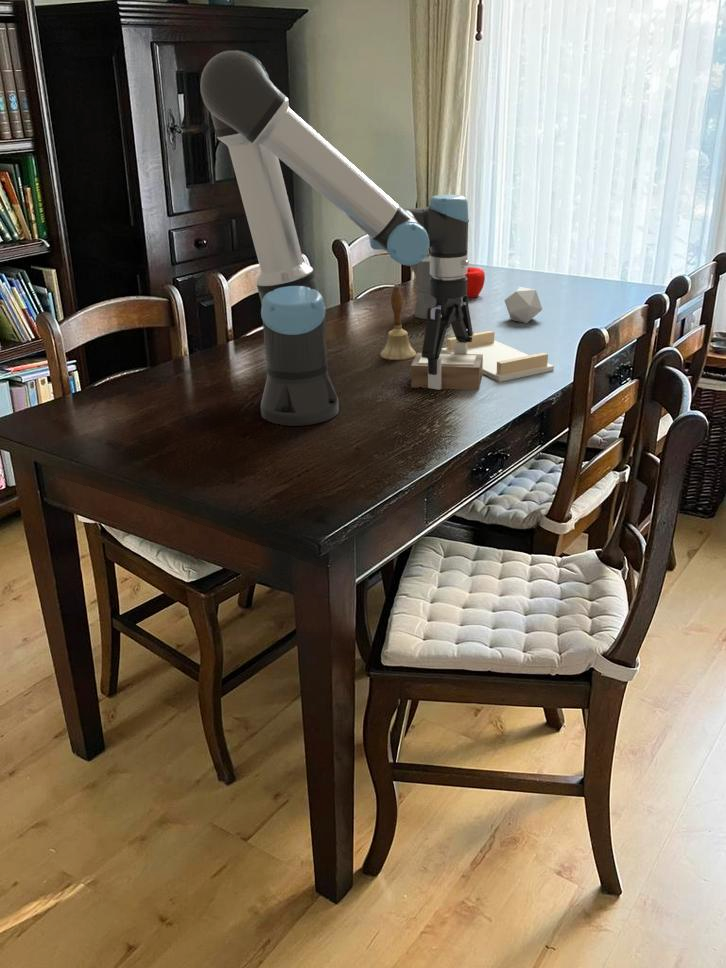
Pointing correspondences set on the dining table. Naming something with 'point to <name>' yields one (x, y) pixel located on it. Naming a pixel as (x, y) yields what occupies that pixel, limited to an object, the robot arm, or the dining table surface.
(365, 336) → the dining table surface
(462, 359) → the frame
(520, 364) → the wall panel
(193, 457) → the dining table surface
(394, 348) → the hand bell
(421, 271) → the coffeepot
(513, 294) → the die
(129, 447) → the dining table surface
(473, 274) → the apple
